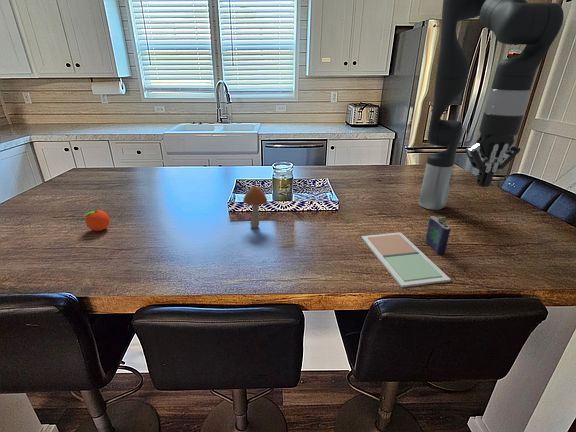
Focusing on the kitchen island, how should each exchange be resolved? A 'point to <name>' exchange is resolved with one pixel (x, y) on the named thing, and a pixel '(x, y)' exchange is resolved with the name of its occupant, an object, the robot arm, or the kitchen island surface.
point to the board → (404, 260)
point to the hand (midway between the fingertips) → (482, 185)
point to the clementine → (97, 220)
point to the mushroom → (255, 203)
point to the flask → (437, 234)
